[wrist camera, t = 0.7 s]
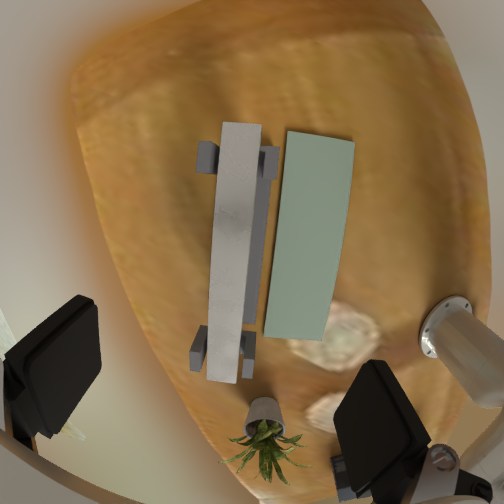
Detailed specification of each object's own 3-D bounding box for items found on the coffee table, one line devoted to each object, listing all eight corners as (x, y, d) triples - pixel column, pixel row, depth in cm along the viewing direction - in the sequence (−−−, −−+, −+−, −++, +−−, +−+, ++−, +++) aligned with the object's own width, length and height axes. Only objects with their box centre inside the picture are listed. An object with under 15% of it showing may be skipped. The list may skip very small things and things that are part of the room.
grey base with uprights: (274, 148, 33) (282, 124, 18) (255, 319, 39) (250, 391, 24) (227, 144, 33) (201, 118, 18) (214, 314, 40) (190, 383, 25)
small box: (356, 467, 51) (363, 496, 41) (333, 473, 51) (338, 503, 41) (355, 450, 48) (364, 483, 38) (329, 457, 49) (335, 490, 39)
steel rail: (261, 131, 22) (261, 124, 19) (238, 366, 28) (236, 383, 25) (227, 128, 22) (223, 121, 19) (211, 362, 28) (206, 379, 26)
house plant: (323, 409, 44) (337, 477, 28) (266, 437, 47) (265, 501, 31) (277, 368, 42) (281, 447, 26) (217, 402, 44) (203, 474, 29)
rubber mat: (353, 142, 33) (354, 142, 32) (321, 338, 40) (321, 340, 39) (287, 131, 33) (287, 130, 32) (263, 334, 40) (263, 336, 39)
